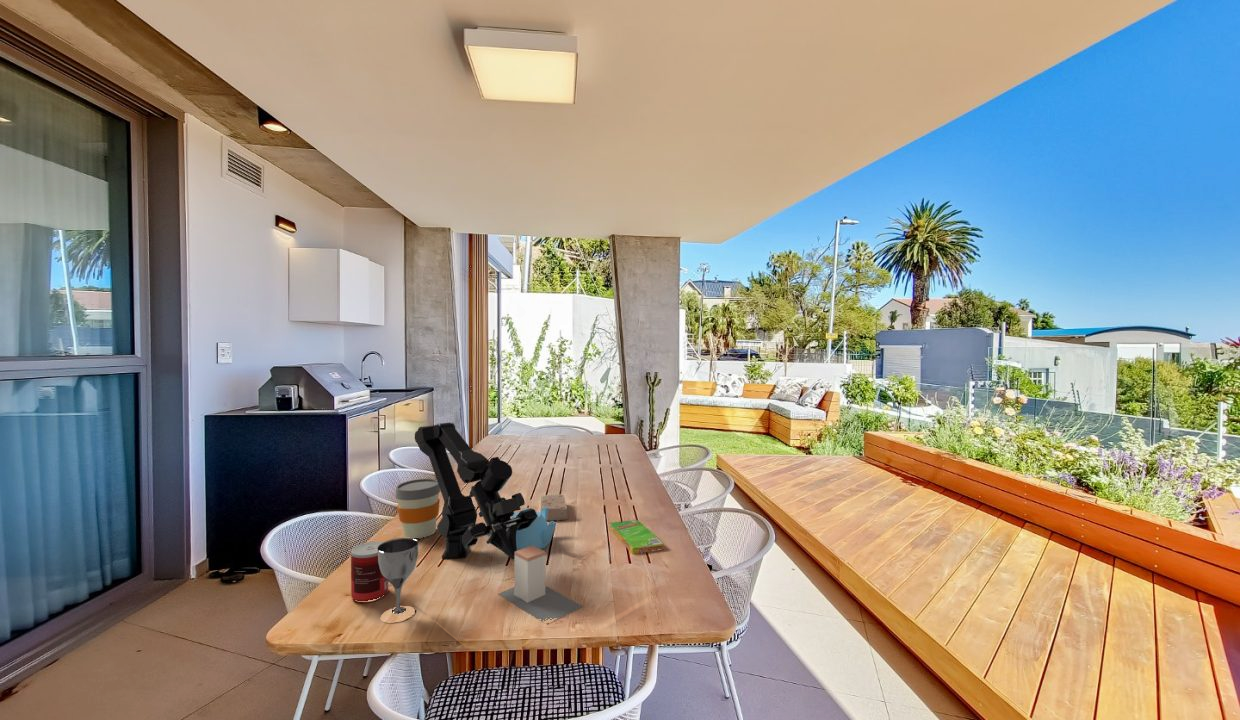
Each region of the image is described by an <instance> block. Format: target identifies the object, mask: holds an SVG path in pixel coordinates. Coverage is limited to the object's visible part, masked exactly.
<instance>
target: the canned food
mask: <svg viewBox="0 0 1240 720" xmlns="http://www.w3.org/2000/svg"><path fill="white" fill-rule="evenodd" d="M383 542H384V541H377V540H376V541H369V542H368V541H367V542H364V543H360V544H357V545H355V546H354V547H352V549H351V552H350V595H351V599H352V598H353V599H354V600H357V601H368V600H373V599H377V598H379V597H382V596H383V595H385V594H386V593H387V594H388V591H389V581H388V580H386V579H385V578H384V577H383V576H382V574H381V572H380V569H379V565H378V555H377V549H378V546H379V545H380V544H381V543H383ZM387 594H386V595H387ZM386 595H385V596H386ZM353 599H352V600H353Z"/></svg>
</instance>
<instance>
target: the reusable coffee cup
mask: <svg viewBox="0 0 1240 720" xmlns="http://www.w3.org/2000/svg"><path fill="white" fill-rule="evenodd" d="M440 493H441V490H440V487H439V485H438V482H437V479H436V478H420V479H419V478H418V479H412V480H407V481H403V482H401V483H399V484H397V485H396V488H395V498H396V500H397V506H396V508H397V513H398V518H399V522H401V527H402V532H403V537H404V536H406V537H410V538H419V539H424V538H427V536H428V537H430V536H432V535H434V534H435V533H436V529H437V518H438V516H439V511H440V502H441V501H440V500H441V499H440V498H439V496H440ZM423 537H424V538H423Z"/></svg>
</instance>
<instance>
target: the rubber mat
mask: <svg viewBox="0 0 1240 720" xmlns="http://www.w3.org/2000/svg"><path fill="white" fill-rule="evenodd" d="M498 596H501V597H502V598H503V599H505V600H506V601H508V602H510V603H511V604H513V605H515V606H516V607H517V608H519V609H521V610H522V611H524V612H526V613H527V614H528V615H530V614H531V616H532V617H533V616H534V618H535V619H536V620H538V619H541V621H543V620H544V621H546V620H548V619H550V618H552V619H554V618H557V619H558V618H560V619H561V618H563V617H565V616H567V614H568V615H570V614H572V613H573V612H575V611H577V610H580V609H581V608H584V607H583V605H582V604H579V603H577V601H574V600H572V599H571V598H569V597H567V596H565V595H563V594H562V593H559V592H557V591H556V590H554V589H552V588H550V587H549V586H547V585H545V595H543V596H541V597H539V598H537V599H534V600H532V601H530V602H528V603H527V602H525V601H524V600H522V599H521V598H519V597H517V596H516V595H514V587H511V588H508V589H506V590H504V591H502V592H499V593H498ZM569 613H570V614H569ZM546 618H547V619H546ZM545 619H546V620H545ZM552 619H550V620H552ZM555 620H556V619H555ZM558 620H559V619H558ZM541 621H540V622H541ZM556 621H557V620H556Z"/></svg>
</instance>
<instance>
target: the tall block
mask: <svg viewBox="0 0 1240 720" xmlns="http://www.w3.org/2000/svg"><path fill="white" fill-rule="evenodd" d="M546 554H547V553H546V551H545V550H543V549H539V548H537V547H535V546H533V545H532V546H529V547H526V548H523V549H521V550H518V551H515V559H514V566H513V567H514V568H513V569H514V570H513V571H514V574H513V575H514V577H513V579H514V580H513V581H514V583H513V584H514V585H513V586H514V595H516V596H517V597H519V598H521V599H522V600H524V601H525V602H527V603H528V602H530V601H532V600H534V599H537V598H539V597H541V596H543V595H545V586H546V561H547V559H546Z"/></svg>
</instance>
